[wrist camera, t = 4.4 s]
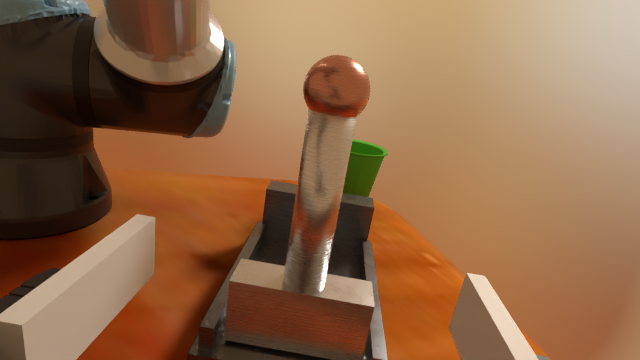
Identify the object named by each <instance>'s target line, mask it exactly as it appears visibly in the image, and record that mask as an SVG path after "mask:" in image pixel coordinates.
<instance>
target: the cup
mask: <svg viewBox="0 0 640 360" xmlns="http://www.w3.org/2000/svg"><path fill="white" fill-rule="evenodd" d="M387 154H388V153H387V151H386V150H385V149H384V148H382V147H380V146H378V145H375V144H371V143H368V142H365V141H360V140H355V139H353V140H352V145H351V151H350V156H349V161H348V166H347V172H346V177H345V182H344V187H343V193H346V194H352V195H358V196H363V197H368V196H369V194H370V191H371V189H372V186H373V184H374V181H375V178H376V176H377V173H378V171H379V168H380V166H381V163H382V161H383V158H384V156H386V155H387Z"/></svg>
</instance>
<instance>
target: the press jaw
mask: <svg viewBox="0 0 640 360" xmlns="http://www.w3.org/2000/svg"><path fill="white" fill-rule="evenodd" d="M303 92H304V99H305V102H306V104H307V106H308V108H309V110H308V117H307V124H306V130H305V137H304V144H303V150H302V157H301V163H300V171H299V177H298V184H297V190H296V197H295V204H294V210H293V217H292V224H291V231H290V237H289V244H288V251H287V257H286V264H285V266H281V265H276V264H270V263H264V262H259V261H253V260H248V259H242V258H241V260H240V262H239V264H238V265H237V267H236V269H235V271H234V273H233V275H232V277H231V278H230V280H229V289H228V299H227V310H226V320H225V331H224V340H228V341H233V342H239V343H244V344H250V345H255V346H261V347H266V348H272V349H277V350H283V351H288V352H293V353H299V354H304V355H310V356H315V357H321V358H326V359H332V360H362V356H363V352H364V348H365V344H366V340H367V336H368V332H369V328H370V324H371V320H372V316H373V312H374V308H375V306H374V297H373V288H372V282H371V281H365V280H359V279H354V278H348V277H343V276H337V275H331V274H327V271H328V266H329V260H330V255H331V250H332V245H333V240H334V234H335V229H336V224H337V219H338V213H339V208H340V203H341V198H342V193H343V187H344V182H345V177H346V172H347V166H348V161H349V156H350V151H351V145H352V140H353V135H354V129H355V125H356V119H357V116H358V115H359V114H360V113H361V112H362V111H363V110H364V108H365V107H366V105H367V102H368V100H369V95H370V82H369V79H368V76H367V73H366V72H365V70H364V69H363V67H362V66H361V65H360V64H359V63H357V62H356V61H355V60H353V59H352V58H349V57H347V56H342V55H333V56H328V57H325V58H323V59H321V60H319V61H318V62H317V63H316V64H314V65H313V66H312V67H311V69H310V70H309V72H308V74H307V75H306V78H305V81H304V88H303Z"/></svg>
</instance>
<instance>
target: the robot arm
mask: <svg viewBox="0 0 640 360" xmlns="http://www.w3.org/2000/svg"><path fill="white" fill-rule="evenodd" d="M103 2H104V7H103V8H102V9H101V10H100V12H99V14H98V15H97V17H91V10H90V9H89V7H88V4H87V3H86V2H85V1H82V0H0V239H20V238H33V237H42V236H48V235H54V234H59V233H64V232H68V231H72V230H75V229H78V228H81V227H84V226H87V225H89V224H91V223H93V222H96V221H97V220H99V219H101V218H102V217H104V216H105V215H106V214H107V213H108V212H109V211H110V209H111V207H112V191H111V186H110V184H109V181H108V179H107V176H106V174H105V172H104V169H103V167H102V165H101V162H100V160H99V157H98V155H97V153H96V150H95V148H94V142H93V128H105V129H115V130H126V131H137V132H147V133H158V134H168V135H177V136H183V137H185V138H191V137H213V136H215V135H217V134H218V133H220V131H221V130H222V129H223V127H224V124H225V121H226V119H227V115H228V112H229V107H230V101H231V99H230V97H231V95H232V91H233V86H234V80H235V72H236V48H235V46H234V44H233V43H232V42H231V41H229V40H226V39H225V38H223V33H222V29H221V27H220V25H219V23H218V21H217V20H216V19H215V17H214V16H213V15H212V14H211V13H210V12H209V9H210V0H103ZM154 255H155V217H150V216H145V215H139V214H137V215H136V216H134V217H133V218H131V219H130V220H129V221H127V222H126V223H125V224H123V225H122V226H120V227H119V228H118V229H116V230H115V231H114V232H112V233H111V234H109V235H108V236H107V237H105V238H104V239H102V240H101V241H100V242H98V243H97V244H96V245H94V246H93V247H91V248H90V249H89V250H87V251H86V252H85V253H83V254H82V255H80V256H79V257H78V258H76V259H75V260H74V261H72V262H71V263H69V264H68V265H67V266H65V267H64V268H63V269H57V268H52V269H49V270H47V271H44V272H42V273H40V274H37V275H35V276H33V277H32V278H30V279H29V280H28V281H26V282H25V283H23V284H22V285H21V287H17V288H16V289H14V290H13V291H11V292H10V293H9V295H6V296H4V297H3V298H1V299H0V360H76V359H77V358H78V357H79V356H80V355H81V354H82V352H83V351H84V350H85V349H86V348H87V347H88V346H89V345H90V344H91V343H92V341H93V340H94V339H95V338H96V337H97V336H98V335H99V334H100V333H101V332H102V330H103V329H104V328H105V327H106V326H107V325H108V324H109V323H110V322H111V321H112V320H113V318H114V317H115V316H116V315H117V314H118V313H119V312H120V311H121V310H122V309H123V307H124V306H125V305H126V304H127V303H128V302H129V301H130V300H131V299H132V298H133V296H134V295H135V294H136V293H137V292H138V291H139V290H140V289H141V288H142V287H143V285H144V284H145V283H146V282H147V281H148V280H149V279H150V278H151V277H152V276H153V275H154ZM449 329H450V332H451V334H452V337H453V340H454V342H455V345H456V348H457V350H458V353H459V355H460V358H461V360H550V359H548V358H547V357H546V356H541V355H535V353H534V352H533V350H532V349H531V347H530V345H529V344H528V342H527V341H526V339H525V338H524V336H523V335H522V333H521V331H520V330H519V328H518V327H517V325H516V324H515V322H514V320H513V319H512V317H511V316H510V314H509V313H508V311H507V310H506V308H505V306H504V305H503V303H502V302H501V300H500V299H499V297H498V296H497V294H496V293H495V291H494V289H493V288H492V286H491V285H490V283H489V282H488V280H487V278H486V277H485V276H481V275H475V274H470V273H466V276H465V279H464V282H463V285H462V288H461V292H460V295H459V298H458V301H457V304H456V307H455V310H454V313H453V316H452V319H451V322H450V325H449Z"/></svg>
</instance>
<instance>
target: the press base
mask: <svg viewBox="0 0 640 360" xmlns="http://www.w3.org/2000/svg"><path fill="white" fill-rule="evenodd" d="M296 190H297V185H295V184H289V183H283V182H278V181H271V183H270V184H269V186H268V187H267V189H266V197H265V206H264V214H263V222H259V223H257V224H256V226H255V228H254V229H253V231H252V233H251V235H250V236H249V238H248V240H247V242H246V244H245V245H244V247H243V249H242V251H241V253H240V254H239V256H238V258H237V260H236V262H235V263H234V265H233V267H232V269H231V271H230V272H229V274H228V276H227V278H226V279H225V281H224V283H223V285H222V287H221V288H220V290H219V292H218V294H217V296H216V297H215V299H214V301H213V303H212V305H211V306H210V308H209V310H208V312H207V313H206V315H205V317H204V319H203V321H202V322H201V324H200V326H199V334H198V336H197V338H196V340H195V341H194V343H193V345H192V347H191V349H190V351H189V352H188V360H332V359H326V358H321V357H315V356H310V355H304V354H299V353H293V352H288V351H283V350H277V349H272V348H266V347H261V346H255V345H250V344H244V343H239V342H233V341H228V340H224V331H225V320H226V310H227V299H228V289H229V280H230V278H231V277H232V275H233V273H234V271H235V269H236V267H237V265H238V264H239V262H240V260H241V258H242V259H248V260H253V261H259V262H264V263H270V264H276V265H281V266H285V264H286V257H287V251H288V244H289V237H290V231H291V224H292V217H293V210H294V204H295V197H296ZM373 211H374V204H373V198H369V197H363V196H358V195H352V194H346V193H342V198H341V203H340V208H339V213H338V219H337V224H336V229H335V234H334V240H333V245H332V250H331V255H330V260H329V266H328V271H327V274H331V275H337V276H343V277H348V278H354V279H359V280H365V281H371V282H372V288H373V297H374V306H375V308H374V312H373V316H372V320H371V324H370V328H369V332H368V336H367V340H366V344H365V348H364V352H363V356H362V360H387V352H386V345H385V338H384V330H383V323H382V315H381V308H380V301H379V293H378V286H377V278H376V271H375V264H374V256H373V249H372V243H370V241H368V240H367V238H368V234H369V229H370V225H371V220H372V216H373Z"/></svg>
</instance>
